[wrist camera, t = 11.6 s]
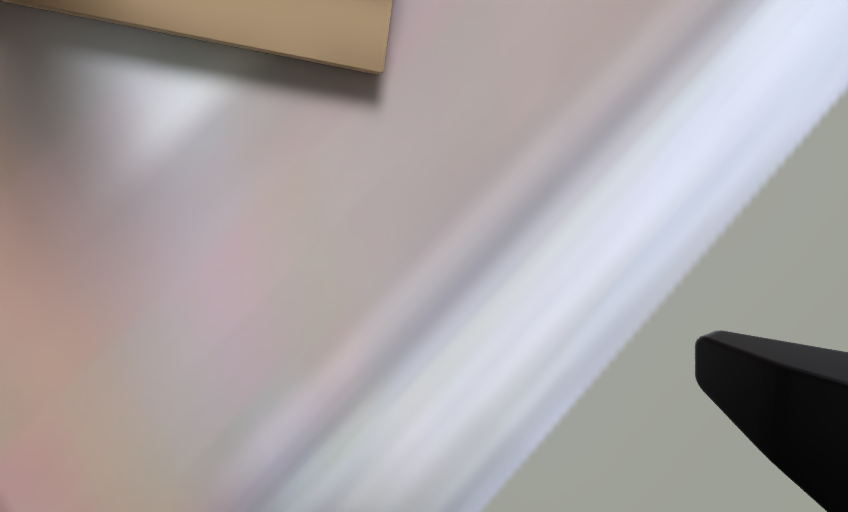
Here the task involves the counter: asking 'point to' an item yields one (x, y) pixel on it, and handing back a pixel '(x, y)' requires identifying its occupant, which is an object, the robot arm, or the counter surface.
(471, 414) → the counter surface
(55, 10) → the tan board
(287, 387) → the counter surface
